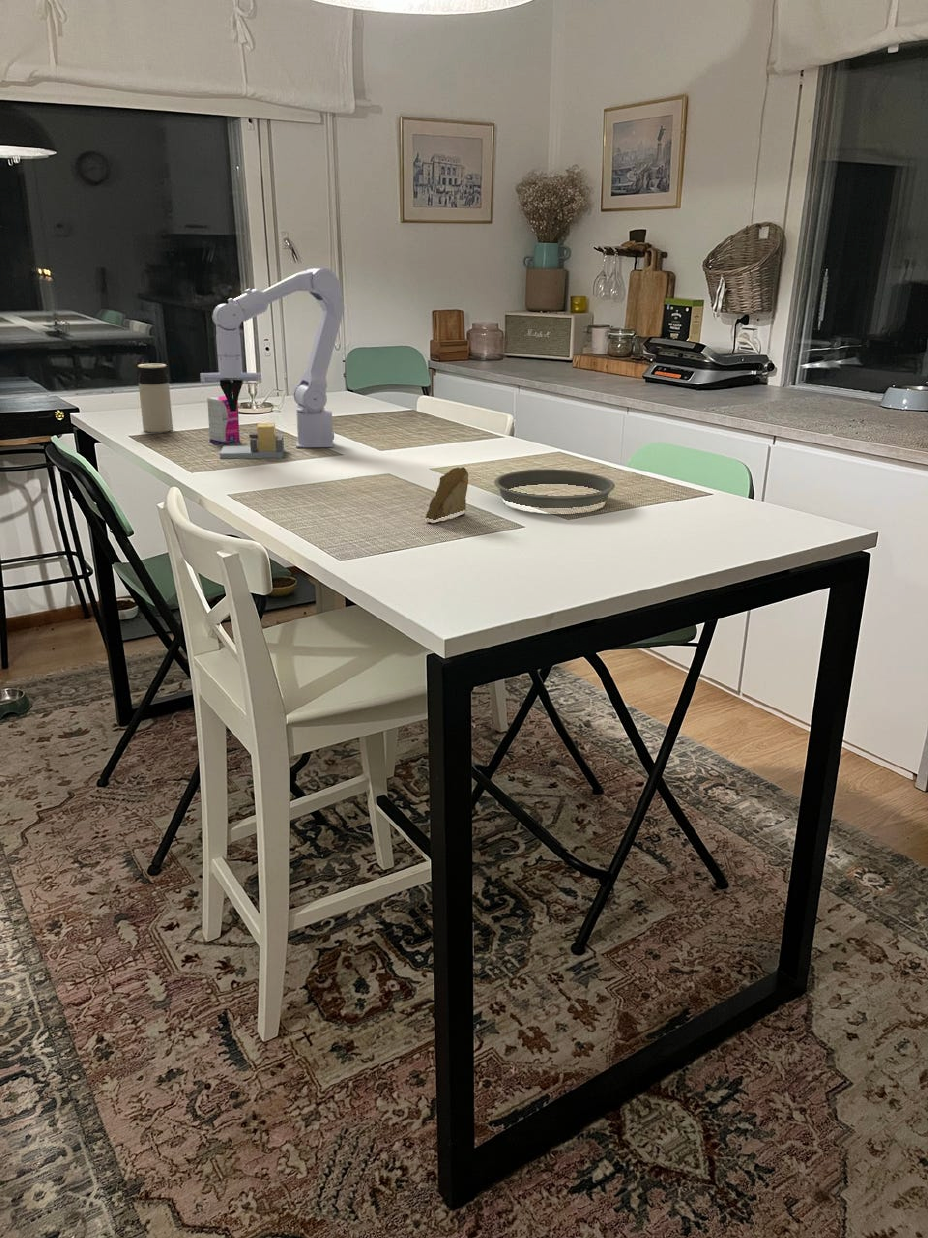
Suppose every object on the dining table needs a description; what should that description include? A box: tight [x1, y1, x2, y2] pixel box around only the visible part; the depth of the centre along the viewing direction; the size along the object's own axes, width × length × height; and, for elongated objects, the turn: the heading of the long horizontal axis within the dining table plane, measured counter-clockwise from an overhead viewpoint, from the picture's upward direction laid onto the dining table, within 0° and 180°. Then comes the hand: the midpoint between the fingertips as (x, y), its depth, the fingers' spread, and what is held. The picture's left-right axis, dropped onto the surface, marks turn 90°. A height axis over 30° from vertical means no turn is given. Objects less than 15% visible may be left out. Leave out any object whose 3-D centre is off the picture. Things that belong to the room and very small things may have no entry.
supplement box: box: [207, 395, 241, 445], centre depth 253 cm, size 6×6×12 cm
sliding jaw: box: [248, 431, 259, 451], centre depth 238 cm, size 2×9×4 cm, turn 8°
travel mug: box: [137, 363, 174, 433], centre depth 266 cm, size 8×8×18 cm
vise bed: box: [219, 433, 285, 459], centre depth 239 cm, size 15×10×4 cm, turn 98°
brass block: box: [257, 422, 277, 451], centre depth 238 cm, size 4×6×6 cm, turn 8°
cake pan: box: [493, 468, 616, 508], centre depth 196 cm, size 25×25×4 cm
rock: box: [425, 466, 469, 520], centre depth 183 cm, size 11×9×10 cm
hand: (233, 411), depth 240 cm, fingers closed
